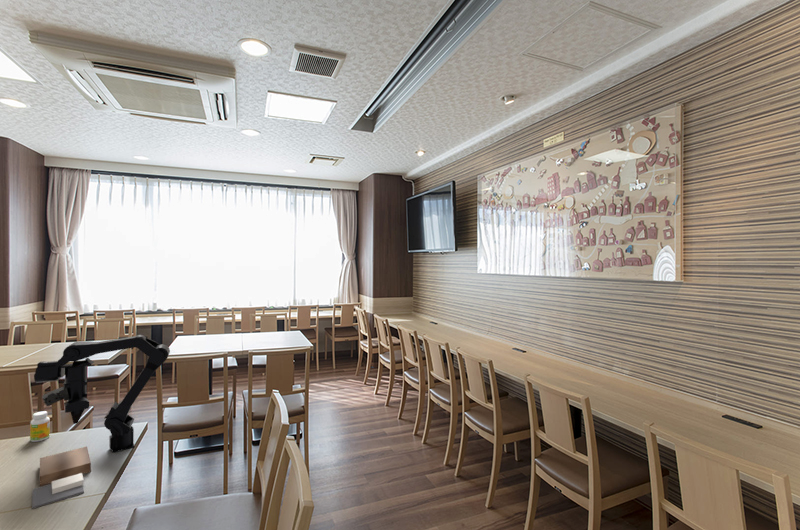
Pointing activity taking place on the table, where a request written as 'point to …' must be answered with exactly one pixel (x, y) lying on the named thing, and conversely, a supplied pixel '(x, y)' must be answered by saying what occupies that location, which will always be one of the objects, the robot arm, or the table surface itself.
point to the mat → (52, 495)
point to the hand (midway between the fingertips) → (75, 423)
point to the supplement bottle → (39, 426)
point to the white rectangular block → (67, 483)
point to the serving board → (64, 465)
